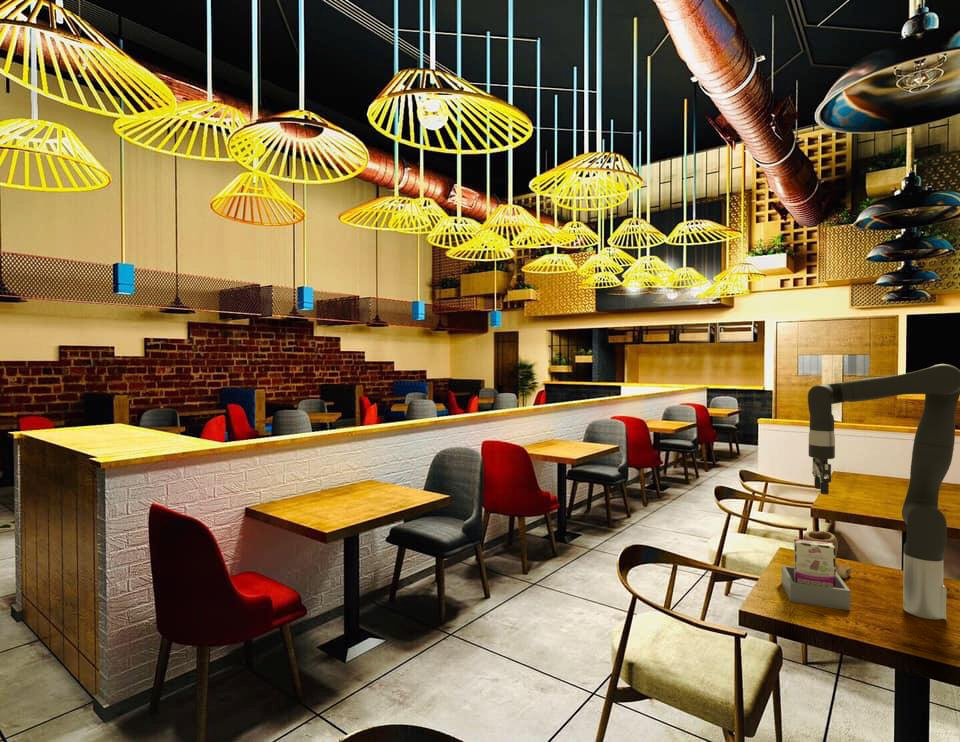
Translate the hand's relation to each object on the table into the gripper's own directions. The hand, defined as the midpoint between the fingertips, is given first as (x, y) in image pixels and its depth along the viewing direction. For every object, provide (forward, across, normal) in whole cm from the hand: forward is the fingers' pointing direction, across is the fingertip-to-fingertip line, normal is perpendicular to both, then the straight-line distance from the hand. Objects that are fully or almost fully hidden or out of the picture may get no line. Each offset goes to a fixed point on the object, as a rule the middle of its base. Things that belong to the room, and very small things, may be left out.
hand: (821, 491), depth 180 cm
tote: (+32, -10, +4) cm, 34 cm away
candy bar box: (+31, -10, +4) cm, 33 cm away
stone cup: (+32, +12, -4) cm, 35 cm away
